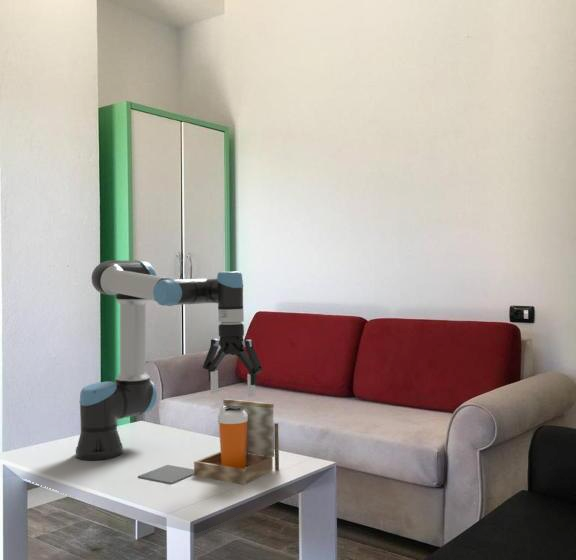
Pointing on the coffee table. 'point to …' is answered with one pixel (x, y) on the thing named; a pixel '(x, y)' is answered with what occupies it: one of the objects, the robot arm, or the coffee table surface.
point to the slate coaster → (168, 474)
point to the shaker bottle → (233, 436)
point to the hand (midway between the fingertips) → (232, 394)
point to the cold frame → (247, 447)
